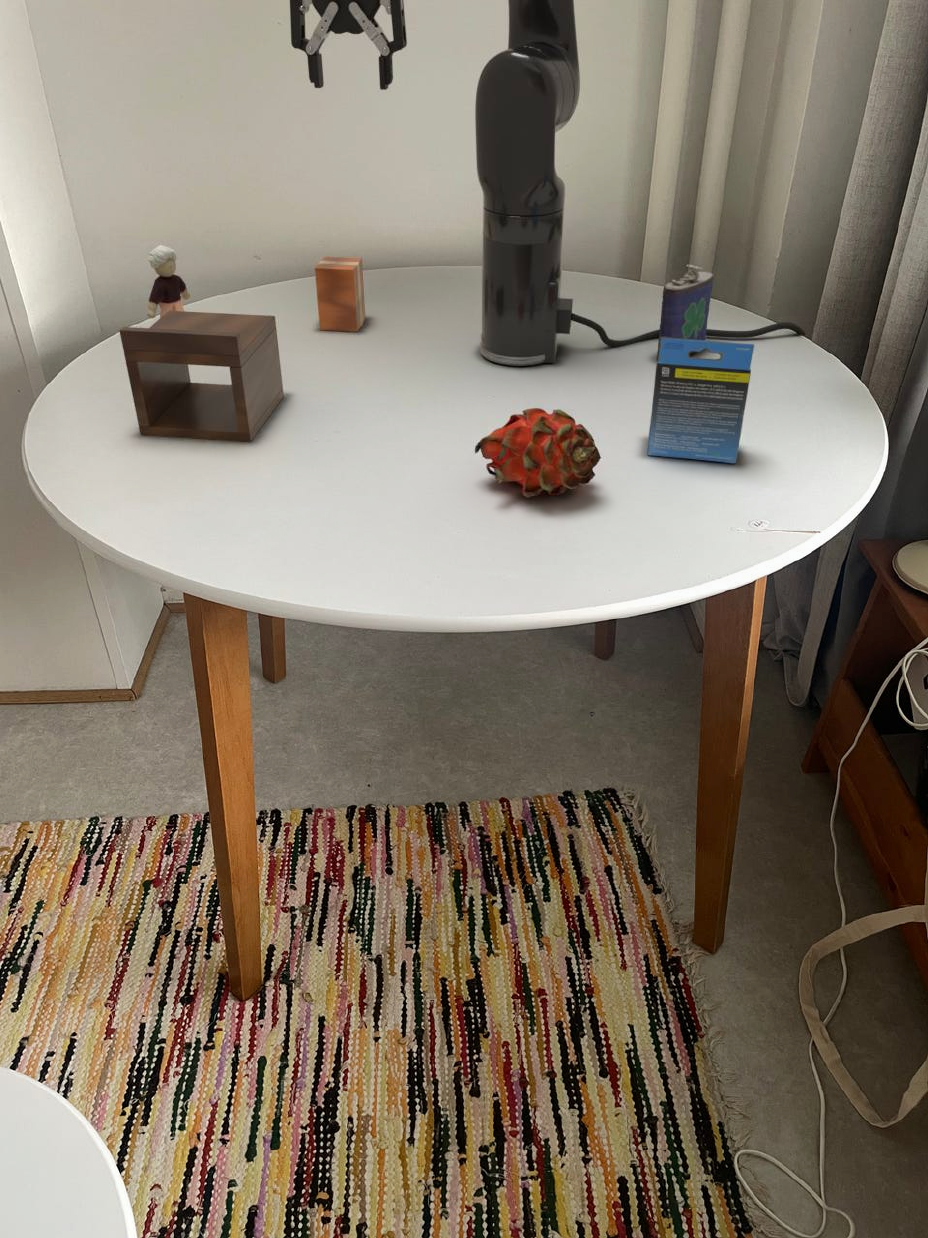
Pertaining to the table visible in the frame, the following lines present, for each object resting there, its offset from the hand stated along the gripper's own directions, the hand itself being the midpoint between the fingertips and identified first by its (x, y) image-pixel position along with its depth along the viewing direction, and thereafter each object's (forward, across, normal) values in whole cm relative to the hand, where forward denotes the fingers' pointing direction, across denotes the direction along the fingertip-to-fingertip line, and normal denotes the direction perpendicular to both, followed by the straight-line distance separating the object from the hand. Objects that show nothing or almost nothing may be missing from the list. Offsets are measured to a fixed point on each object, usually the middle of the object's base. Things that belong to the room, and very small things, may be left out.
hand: (351, 87), depth 128 cm
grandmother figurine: (+26, -18, -26) cm, 41 cm away
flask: (+26, +44, -18) cm, 54 cm away
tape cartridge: (+26, +44, -46) cm, 69 cm away
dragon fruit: (+26, +29, -56) cm, 68 cm away
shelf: (+26, -7, -44) cm, 51 cm away
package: (+26, 0, -14) cm, 29 cm away
